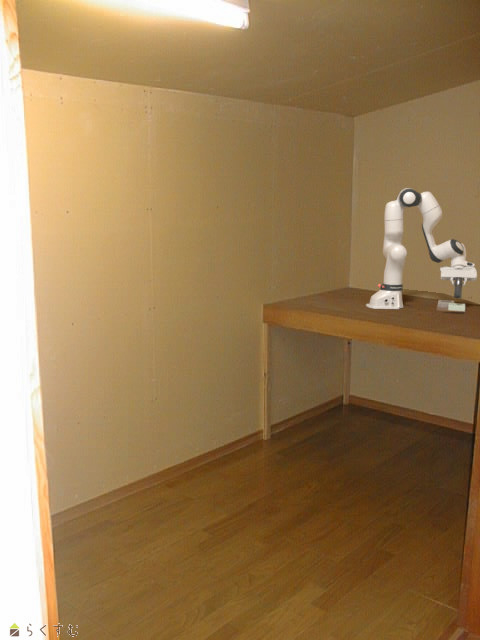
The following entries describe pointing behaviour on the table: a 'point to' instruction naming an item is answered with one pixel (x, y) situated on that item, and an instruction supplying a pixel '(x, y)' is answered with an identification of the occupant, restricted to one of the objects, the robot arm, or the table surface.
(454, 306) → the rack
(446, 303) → the socket
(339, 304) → the table surface
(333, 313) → the table surface
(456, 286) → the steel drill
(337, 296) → the table surface
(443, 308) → the tool board
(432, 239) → the robot arm
